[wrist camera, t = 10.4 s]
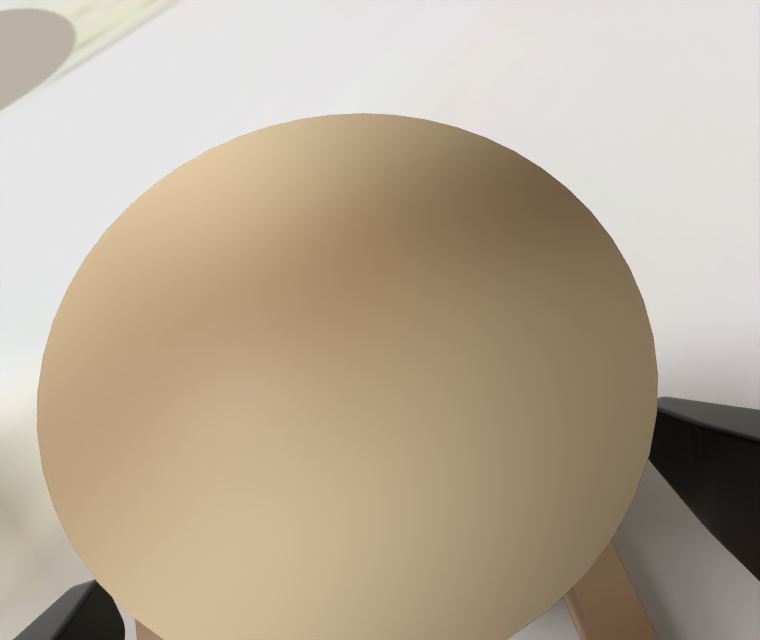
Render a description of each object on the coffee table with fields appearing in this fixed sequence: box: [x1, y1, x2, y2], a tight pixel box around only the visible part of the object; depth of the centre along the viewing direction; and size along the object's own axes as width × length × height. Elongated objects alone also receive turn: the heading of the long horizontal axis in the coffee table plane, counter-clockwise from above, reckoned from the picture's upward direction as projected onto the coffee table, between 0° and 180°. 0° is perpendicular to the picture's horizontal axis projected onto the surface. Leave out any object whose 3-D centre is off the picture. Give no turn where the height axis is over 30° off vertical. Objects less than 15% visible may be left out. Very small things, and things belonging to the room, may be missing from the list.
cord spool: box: [37, 113, 658, 640], centre depth 12 cm, size 6×6×13 cm
